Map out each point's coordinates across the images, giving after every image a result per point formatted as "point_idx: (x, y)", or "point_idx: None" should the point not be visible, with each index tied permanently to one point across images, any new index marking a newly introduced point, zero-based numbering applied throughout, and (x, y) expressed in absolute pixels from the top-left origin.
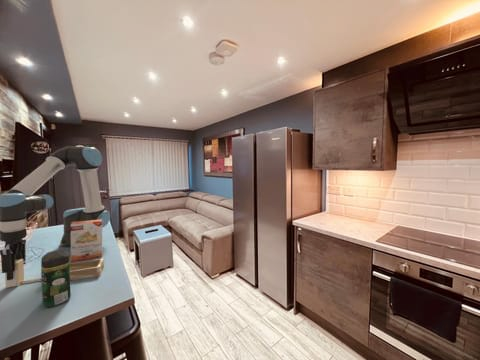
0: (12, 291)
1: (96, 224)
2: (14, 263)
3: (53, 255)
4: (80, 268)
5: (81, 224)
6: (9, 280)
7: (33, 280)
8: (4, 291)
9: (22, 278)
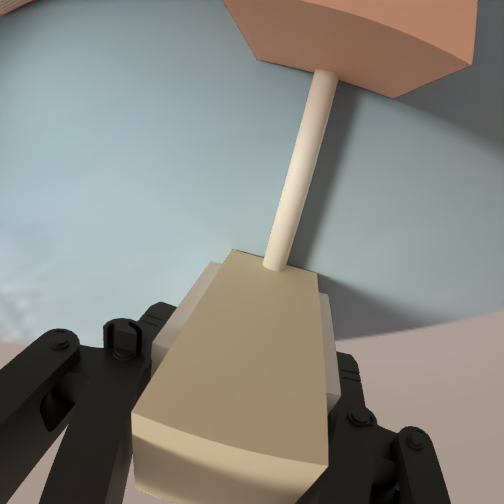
0: (392, 297)
1: None
2: (345, 493)
3: None
4: None
5: None
6: None
7: (310, 179)
8: (348, 339)
9: (250, 270)
